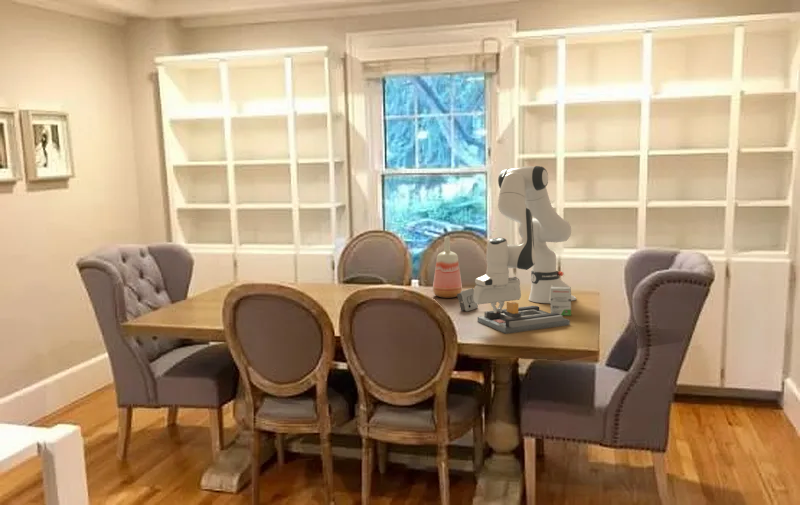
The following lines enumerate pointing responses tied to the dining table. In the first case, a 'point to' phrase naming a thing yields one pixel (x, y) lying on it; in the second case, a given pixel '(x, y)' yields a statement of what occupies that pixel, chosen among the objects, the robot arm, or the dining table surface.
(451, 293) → the vase
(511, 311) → the lever
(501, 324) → the panel
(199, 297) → the dining table surface
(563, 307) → the ink box
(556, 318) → the pair of panel rails
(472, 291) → the electrical switch
